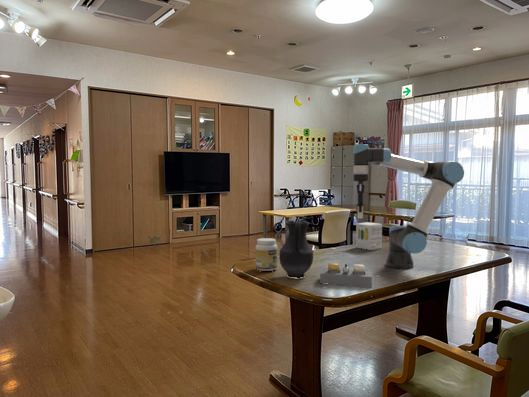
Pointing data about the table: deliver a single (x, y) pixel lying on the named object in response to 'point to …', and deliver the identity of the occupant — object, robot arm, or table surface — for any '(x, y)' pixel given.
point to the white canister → (369, 235)
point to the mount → (346, 278)
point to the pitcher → (296, 250)
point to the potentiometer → (345, 269)
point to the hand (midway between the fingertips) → (360, 218)
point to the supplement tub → (266, 254)
